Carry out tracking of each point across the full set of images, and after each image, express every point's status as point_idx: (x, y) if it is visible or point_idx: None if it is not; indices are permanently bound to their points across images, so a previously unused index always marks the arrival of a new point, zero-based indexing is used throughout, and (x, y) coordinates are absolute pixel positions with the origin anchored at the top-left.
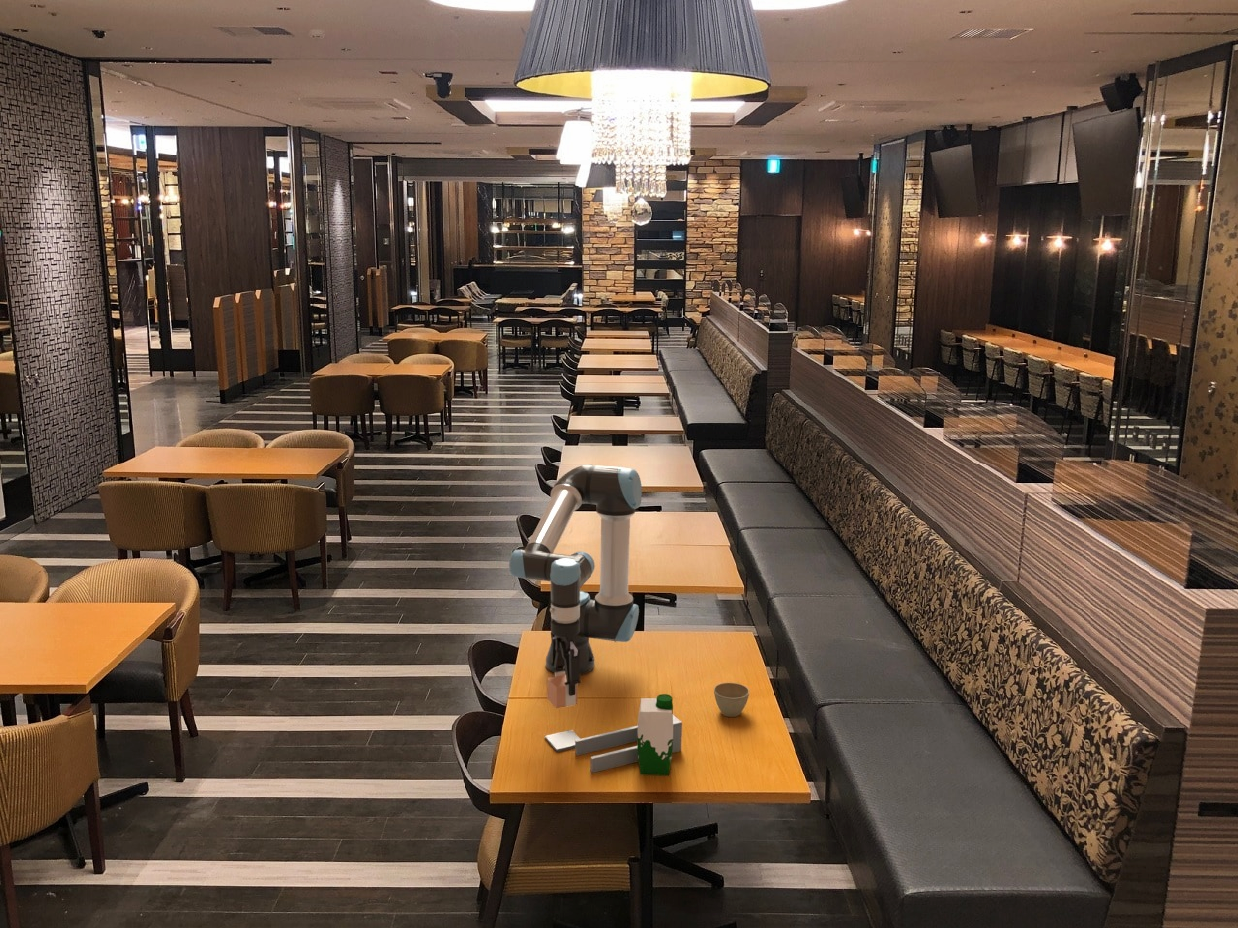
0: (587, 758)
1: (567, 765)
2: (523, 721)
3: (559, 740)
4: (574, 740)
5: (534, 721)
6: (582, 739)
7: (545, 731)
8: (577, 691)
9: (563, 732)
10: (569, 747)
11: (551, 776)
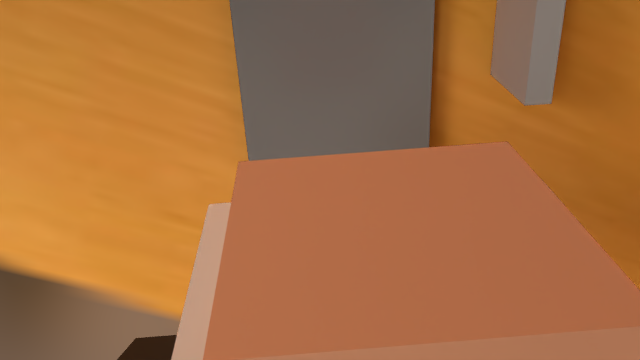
0: (577, 23)
1: (577, 154)
2: (16, 220)
3: (335, 122)
4: (375, 35)
5: (27, 166)
6: (545, 54)
7: (170, 145)
8: (579, 224)
9: (248, 65)
10: (429, 89)
11: (619, 252)
